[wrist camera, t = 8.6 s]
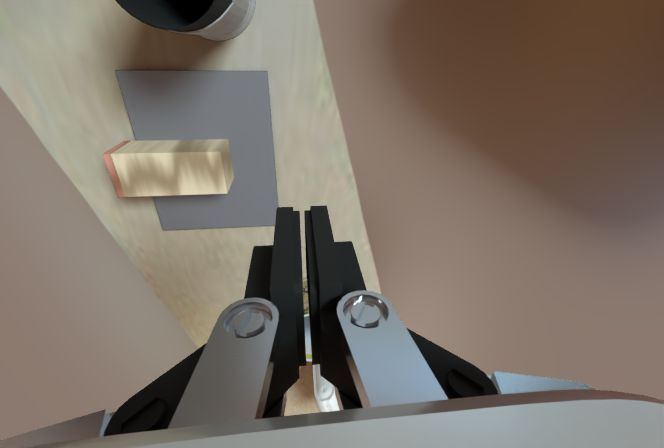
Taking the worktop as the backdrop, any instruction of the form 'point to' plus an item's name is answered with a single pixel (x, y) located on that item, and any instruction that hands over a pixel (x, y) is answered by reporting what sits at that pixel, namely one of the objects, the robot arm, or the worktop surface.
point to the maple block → (170, 167)
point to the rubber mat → (210, 123)
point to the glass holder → (194, 16)
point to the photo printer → (324, 392)
